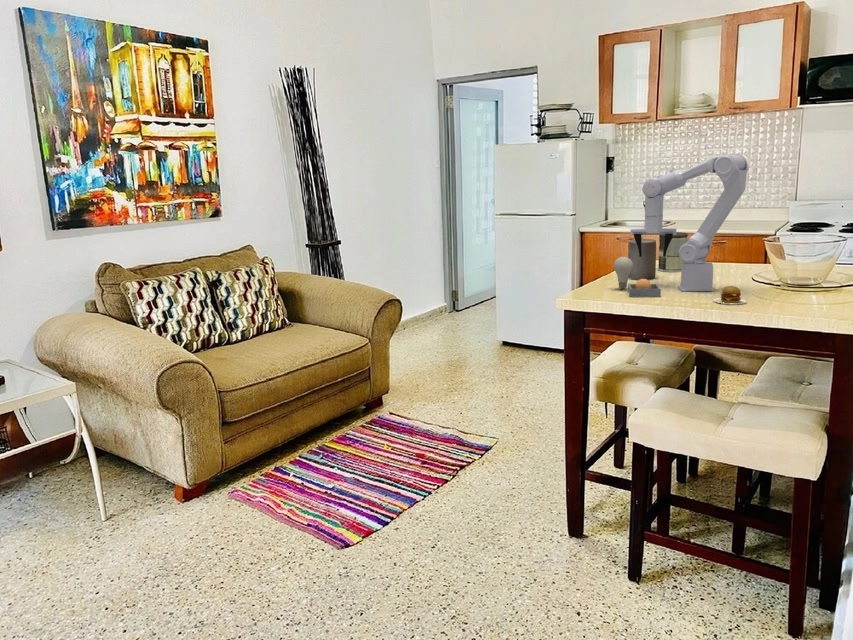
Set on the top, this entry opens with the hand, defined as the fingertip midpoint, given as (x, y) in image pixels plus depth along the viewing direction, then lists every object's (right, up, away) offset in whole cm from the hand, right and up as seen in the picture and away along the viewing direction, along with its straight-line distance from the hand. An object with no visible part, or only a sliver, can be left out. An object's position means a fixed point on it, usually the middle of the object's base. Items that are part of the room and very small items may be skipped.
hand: (652, 256), depth 224 cm
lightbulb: (-11, -12, -3) cm, 16 cm away
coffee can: (+18, -3, +31) cm, 36 cm away
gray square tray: (-7, -13, -13) cm, 20 cm away
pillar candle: (+2, -7, +17) cm, 18 cm away
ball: (-7, -13, -13) cm, 20 cm away
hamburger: (+13, -17, -29) cm, 36 cm away
